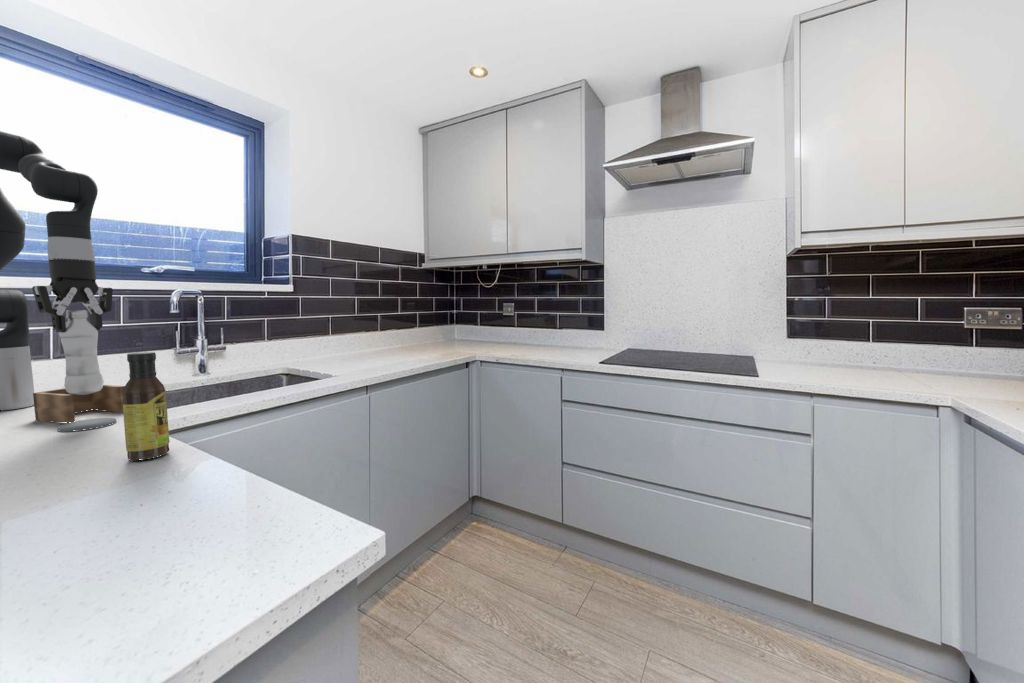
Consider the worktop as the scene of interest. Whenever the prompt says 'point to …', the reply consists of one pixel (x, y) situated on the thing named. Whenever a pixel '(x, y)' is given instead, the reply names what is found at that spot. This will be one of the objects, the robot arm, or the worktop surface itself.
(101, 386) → the plastic bottle
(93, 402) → the holder
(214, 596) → the worktop surface
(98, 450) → the worktop surface
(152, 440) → the sauce bottle
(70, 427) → the mat
